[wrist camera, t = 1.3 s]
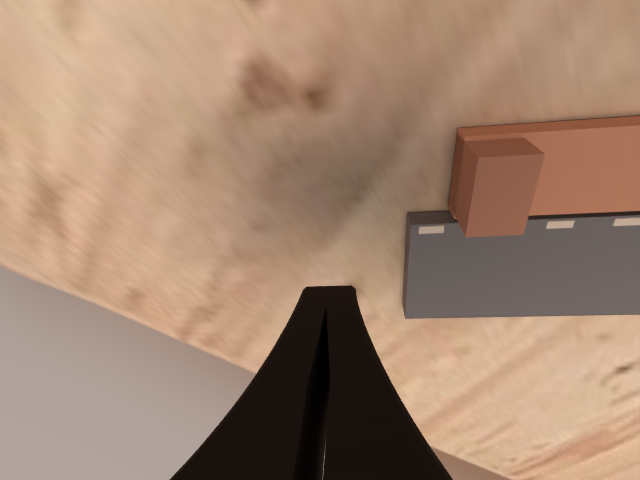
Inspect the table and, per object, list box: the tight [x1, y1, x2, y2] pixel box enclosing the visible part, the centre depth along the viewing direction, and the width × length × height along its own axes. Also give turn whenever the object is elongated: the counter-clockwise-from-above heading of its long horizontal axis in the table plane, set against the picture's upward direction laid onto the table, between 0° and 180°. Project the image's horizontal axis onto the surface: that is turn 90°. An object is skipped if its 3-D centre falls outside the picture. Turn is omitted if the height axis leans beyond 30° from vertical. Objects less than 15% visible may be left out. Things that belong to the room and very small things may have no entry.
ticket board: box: [403, 211, 640, 319], centre depth 19 cm, size 14×6×1 cm, turn 95°
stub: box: [448, 116, 640, 237], centre depth 15 cm, size 10×4×3 cm, turn 95°
